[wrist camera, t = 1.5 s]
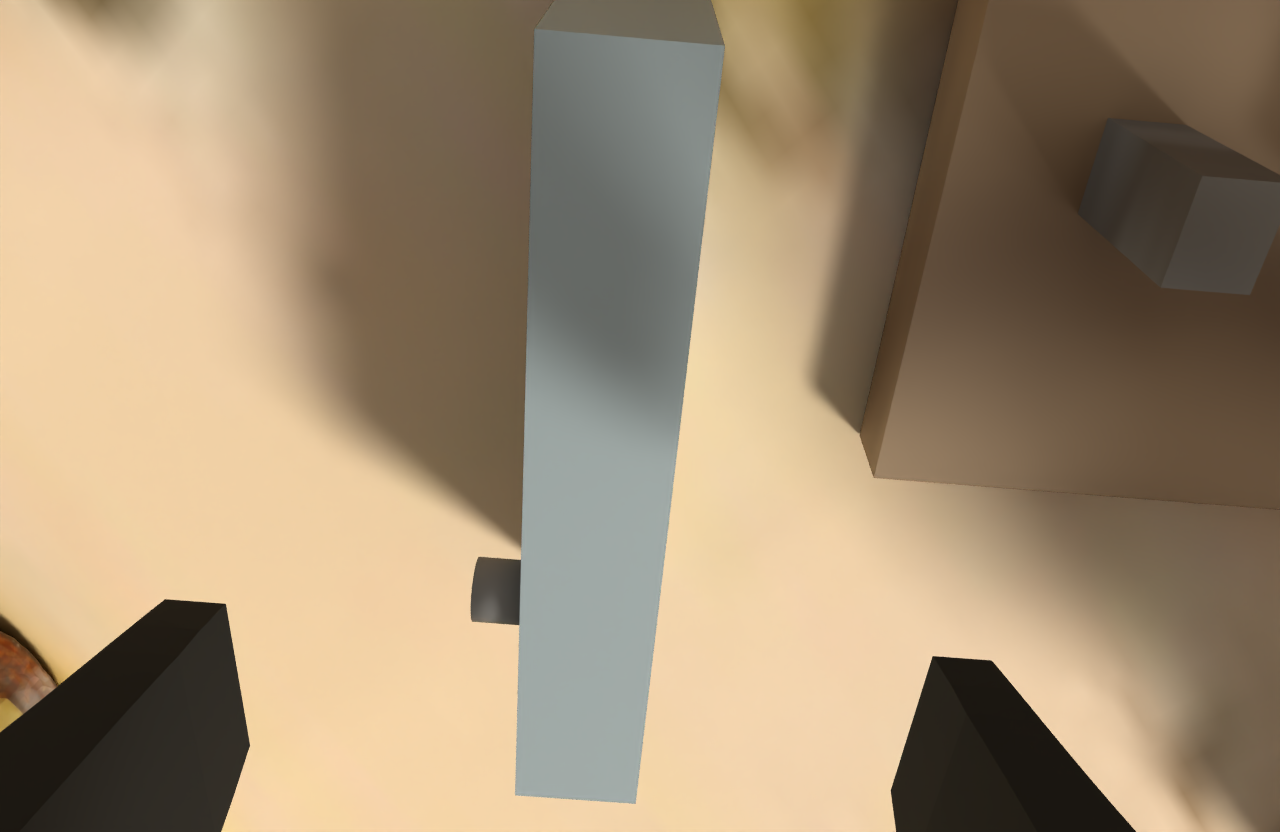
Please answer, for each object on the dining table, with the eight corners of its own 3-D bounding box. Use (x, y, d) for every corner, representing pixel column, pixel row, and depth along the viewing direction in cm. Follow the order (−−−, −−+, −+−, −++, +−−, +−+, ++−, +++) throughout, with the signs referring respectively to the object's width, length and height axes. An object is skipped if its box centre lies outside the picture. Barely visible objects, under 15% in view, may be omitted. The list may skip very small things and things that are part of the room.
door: (641, 572, 22) (635, 803, 16) (514, 562, 21) (466, 791, 16) (704, -22, 15) (724, 46, 10) (525, -38, 15) (457, 22, 10)
